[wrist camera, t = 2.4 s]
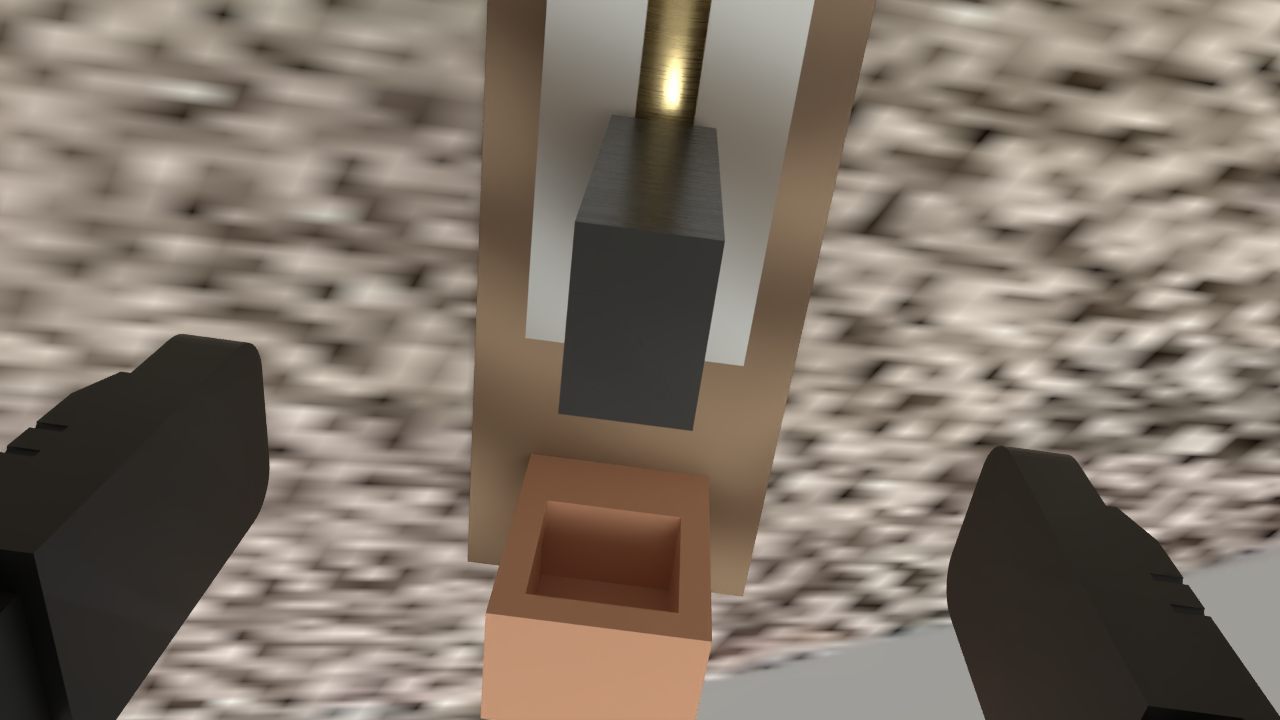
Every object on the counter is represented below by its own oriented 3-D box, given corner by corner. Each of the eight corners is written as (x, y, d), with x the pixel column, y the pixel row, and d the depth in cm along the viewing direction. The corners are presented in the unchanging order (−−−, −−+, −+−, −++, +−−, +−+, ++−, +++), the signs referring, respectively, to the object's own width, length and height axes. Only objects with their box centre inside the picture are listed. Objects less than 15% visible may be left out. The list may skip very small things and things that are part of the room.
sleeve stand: (508, -261, 23) (416, -325, 15) (910, -207, 23) (1014, -244, 15) (476, 534, 35) (415, 719, 27) (740, 568, 35) (753, 761, 27)
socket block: (531, 454, 31) (486, 613, 24) (708, 476, 31) (712, 641, 24) (524, 546, 33) (480, 718, 26) (691, 568, 33) (690, 744, 26)
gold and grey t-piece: (634, -208, 19) (570, -286, 10) (776, -189, 19) (857, -249, 10) (581, 341, 25) (509, 633, 16) (688, 355, 25) (683, 656, 16)
